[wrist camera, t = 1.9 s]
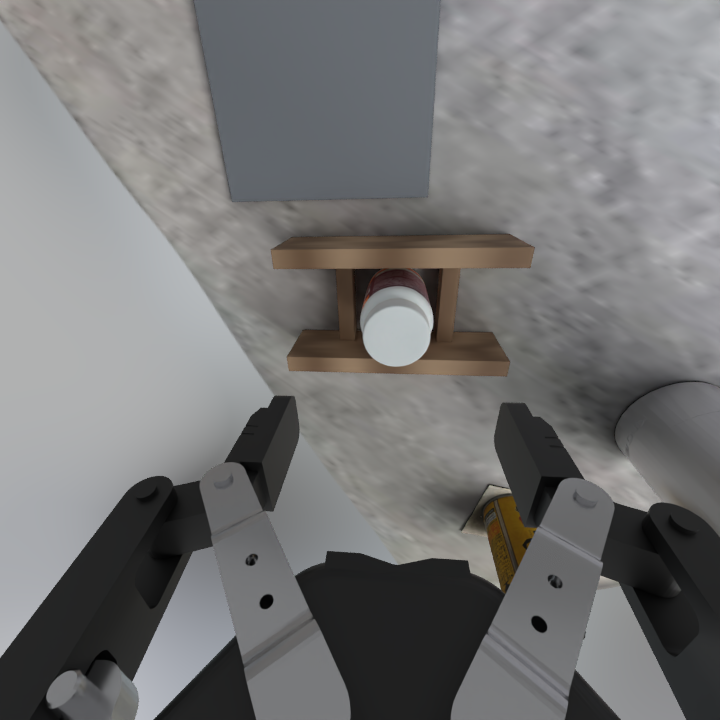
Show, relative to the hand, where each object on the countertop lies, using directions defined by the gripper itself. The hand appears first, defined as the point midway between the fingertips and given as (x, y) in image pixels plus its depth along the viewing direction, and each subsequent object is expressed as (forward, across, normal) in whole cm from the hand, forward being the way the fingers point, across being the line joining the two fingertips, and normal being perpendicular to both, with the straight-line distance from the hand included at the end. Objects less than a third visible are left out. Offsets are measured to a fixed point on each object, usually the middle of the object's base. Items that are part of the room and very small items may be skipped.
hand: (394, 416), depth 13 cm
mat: (+16, +5, -14) cm, 22 cm away
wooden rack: (+16, 0, 0) cm, 16 cm away
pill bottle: (+16, 0, 0) cm, 16 cm away
